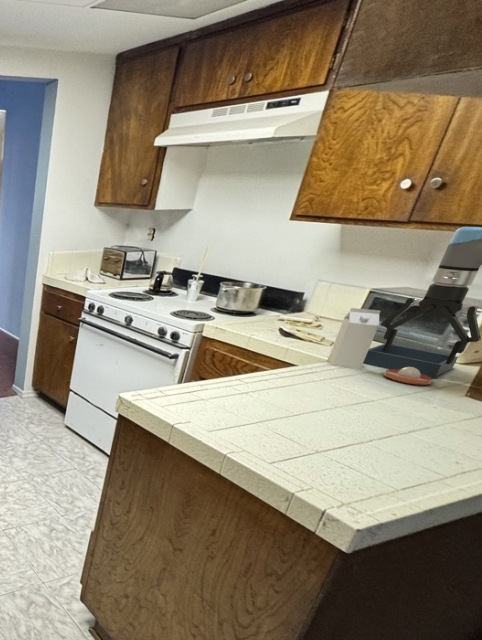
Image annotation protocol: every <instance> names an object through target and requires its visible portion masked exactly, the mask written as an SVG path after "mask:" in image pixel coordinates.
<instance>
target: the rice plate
mask: <svg viewBox="0 0 482 640" xmlns="http://www.w3.org/2000/svg"><path fill="white" fill-rule="evenodd" d="M383 375H384V376H385V377H386V378H388V379H390V380H392V381H395V382H399V383H403V384H408V385H417V386H419V385H431V384H432V381H433V379H432V378H431V377H429V376H426V375H423V374H420V371H419V370H418V369H416V368H414V367H404V368H402V369H400V370H396V369H385V371H384V374H383Z"/></svg>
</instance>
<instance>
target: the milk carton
mask: <svg viewBox="0 0 482 640" xmlns="http://www.w3.org/2000/svg"><path fill="white" fill-rule="evenodd" d="M380 314H381V310H376V309H367V308H357V307H356V308H354V307H351V308H350V310H349V312H348V313H346V315H345V316H344V317H343V319H342V322H341V324H340V327H339V329H338V332H337V335H336V338H335V340H334V342H333V345H332V348H331V350H330V353H329V355H328V358H327V361H328V362H329V363H330V364H331V365H332V366H335V367H343V368H350V369H356V370H361V369H362V367H363V365H364V364H363V362H364V359H365V357H366V355H367V352H368V350H369V349H370V348H371V345H372V342H373V340H374V339H375V336H376V333H377V331H378V329H379V326H380Z"/></svg>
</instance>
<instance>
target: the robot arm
mask: <svg viewBox="0 0 482 640" xmlns="http://www.w3.org/2000/svg"><path fill="white" fill-rule="evenodd" d="M481 266H482V227H481V226H462V227H459V228H457V229H456V230H455V232H454V233H453V235H452V237H451V239H450V241H449V242H448V245H447V247H446V249H445V251H444V253H443V255H442V258H441V260H440V262H439V265H438V267H437V269H436V271H435V273H434V276H433V278H432V280H431V282H432V283H431V284H430V285H429V286H428V288H427V291H426V292H425V295H424V297H423V298H422V299H417V298H415V297H409V298H407V299H406V301H405V303H404V304H403V305H402V306H400V308H398V309H396V311H394V312H393V313H391V314H390V315H389V316H388V317H387V318H385V319H384V320H383V321H382V322H380V326H382V327H384V328H386V331H385V333H384V335H383V340H386V341H385V343H386V344H385V343H384V344H385V346H384V348H383V350H382V351H388V350H389V349H390V346H391V344H392V345H393V342H394V340H395V337H396V335H397V333H398V331H399V330H398V329H396V328H398V327H400V326H402V325H404V324H406V323H408V322H410V321H412V320H414V319H416V318H419V317H421V316H423V315H424V316H425V318H436V319H446V321H447V322H448V323H449V324H450V326H451V327H452V329H453V330H454V333H455V334H456V335H457V337H458V338H459V340H456V342H455V343H454V346H453V347H452V349H451V351H450V353H449V354H448V355H449V357H448V359H447V361H446V363H445V364H451V363H452V362H453V360H454V358H455V356H456V357H457V354H459V355H460V354H462V353H464V352H465V350H466V349H467V346H468V345H469V343H477V342H480V341H481V340H482V337H481V333H480V332H481V331H480V327H479V323H478V319H477V312H478V310H479V309H478V308H479V307H478V306H477V305H472V306H471V305H463V302H464V300H465V298H466V297H467V294H468V292H469V290H470V288H469V286H472V285H473V282H474V280H475V278H476V276H477V274H478V272H479V270H480V268H481ZM416 305H418V306H419V308H420V310H417V311H416V312H414V313H412V314H410V315H408V316H406V317H403V318H402V319H400V320H398V321H396V322H394V321H395V320H396V319H397V318H399V317H400V316H401V315H403V313H405V312H406V311H407V310H409V309H410V308H411V307H415V306H416ZM460 311H463V313H464V314H465V315H466V320H467V324H468V329H469V333H470V337H469V334H468V332H467V331H466V330H465V328H464V327H463V325H462V323H461V322H460V321H459V319H458V316H457V315H456V313H458V312H460ZM392 322H394V323H392Z"/></svg>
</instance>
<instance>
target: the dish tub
mask: <svg viewBox="0 0 482 640" xmlns="http://www.w3.org/2000/svg"><path fill="white" fill-rule="evenodd" d="M385 344H386V342H385V343H382V344H379V345H376V346H373V347H370V348H369V350H368V352H367V355H366V357H365V359H364V362H363V364H362V365H367V366H368V365H369V366H373V367H377V368H382V369H385V370H389V369H396V370H400V369H402V368H404V367H414V368H416V369H418V370H419V371H420V374H423V375H426V376H429V377H431V378H432V380H436V379H438V378H439V376H441V375H443V374H445V373H446V372H448V371H450V370H452V369H453V368H454V366H455V364H456V362H457V360H458V358H459V356H457V355H456V356H455V358H454V360H453V362H452V363H451V364H445V363H446V361H447V359H448V357H449V355H450V354H446V353H445V354H444V353H441V352H440V353H439V352H434V351H428V350H423V349H418V348H413V347H409V346H403V345H398V344H397V345H396V344H393V343H392V344H391V346H390V349H389V350H388V351H382V350H383V348H384V346H385Z"/></svg>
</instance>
